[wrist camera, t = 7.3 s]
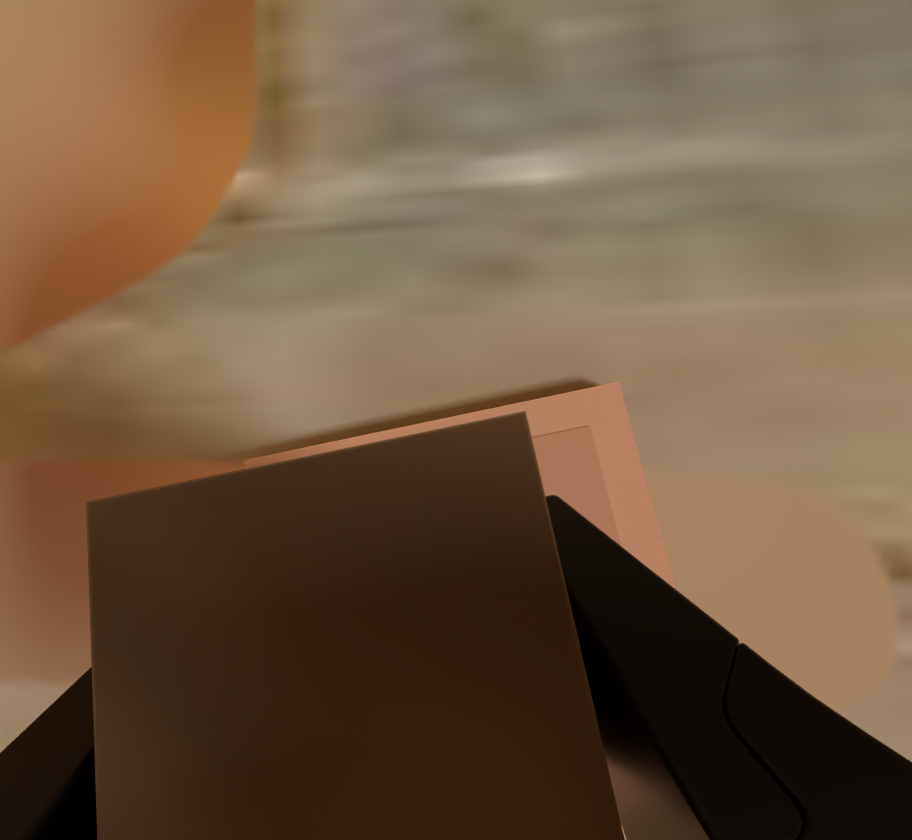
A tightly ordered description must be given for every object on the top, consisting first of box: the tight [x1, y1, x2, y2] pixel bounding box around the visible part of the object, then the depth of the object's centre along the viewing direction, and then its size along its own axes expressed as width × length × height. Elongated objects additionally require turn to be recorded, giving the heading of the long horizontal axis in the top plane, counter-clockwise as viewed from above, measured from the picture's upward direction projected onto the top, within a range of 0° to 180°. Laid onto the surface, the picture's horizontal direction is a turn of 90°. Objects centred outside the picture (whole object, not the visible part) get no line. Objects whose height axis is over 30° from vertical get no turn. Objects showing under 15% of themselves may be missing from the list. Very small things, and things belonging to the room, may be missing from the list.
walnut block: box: [86, 411, 625, 840], centre depth 11 cm, size 3×4×11 cm
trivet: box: [243, 382, 676, 832], centre depth 20 cm, size 13×13×1 cm
